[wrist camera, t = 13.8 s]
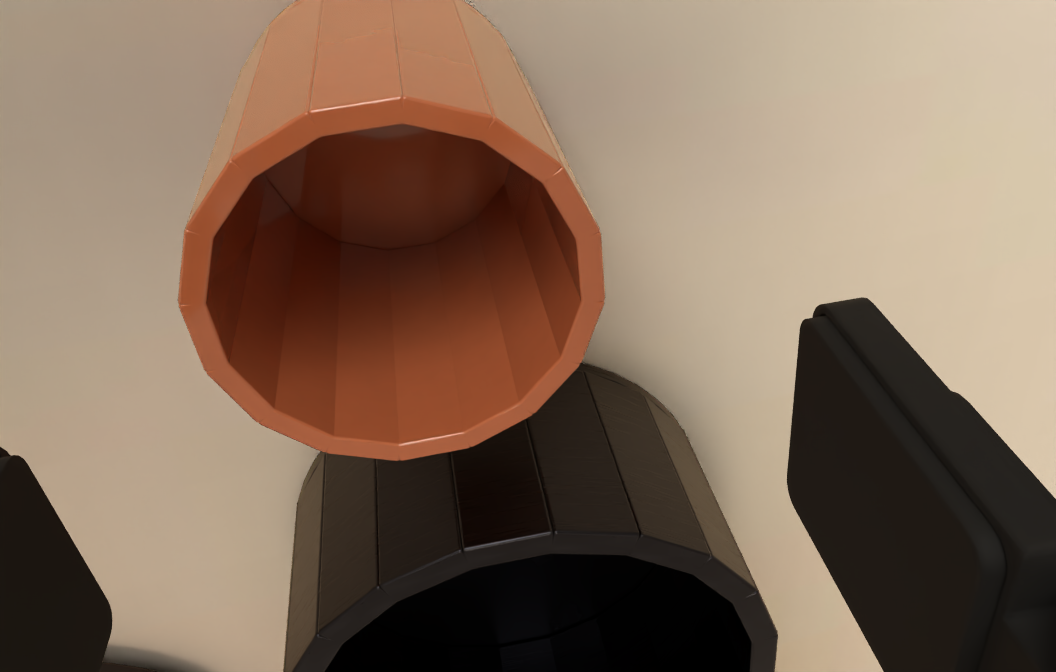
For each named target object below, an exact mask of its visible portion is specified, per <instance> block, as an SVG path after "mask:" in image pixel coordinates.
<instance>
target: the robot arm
mask: <svg viewBox="0 0 1056 672" xmlns="http://www.w3.org/2000/svg"><path fill="white" fill-rule="evenodd" d="M787 485H788V491H789V495H790V498H791V501H792V504H793V506H794V508H795V510H796V512H797V514H798V515H799V517H800V519H801V521H802V523H803V525H804V526H805V528H806V530H807V532H808V534H809V536H810V537H811V539H812V541H813V543H814V545H815V547H816V548H817V550H818V552H819V554H820V556H821V558H822V559H823V561H824V563H825V565H826V567H827V568H828V570H829V572H830V574H831V576H832V578H833V579H834V581H835V583H836V585H837V587H838V589H839V590H840V592H841V594H842V596H843V598H844V600H845V601H846V603H847V605H848V607H849V609H850V611H851V612H852V614H853V616H854V618H855V620H856V622H857V623H858V625H859V627H860V629H861V631H862V633H863V634H864V636H865V638H866V640H867V642H868V644H869V645H870V647H871V649H872V651H873V653H874V655H875V656H876V658H877V660H878V662H879V664H880V665H881V667H882V669H883V671H884V672H1056V499H1055V498H1054V497H1053V496H1052V494H1051V493H1050V492H1049V491H1048V490H1047V489H1046V488H1045V487H1044V486H1043V484H1042V483H1041V482H1040V481H1039V480H1038V479H1037V478H1036V477H1035V475H1034V474H1033V473H1032V472H1031V471H1030V470H1029V469H1028V468H1027V467H1026V465H1025V464H1024V463H1023V462H1022V461H1021V460H1020V459H1019V458H1018V457H1017V455H1016V454H1015V453H1014V452H1013V451H1012V450H1011V449H1010V448H1009V447H1008V445H1007V444H1006V443H1005V442H1004V441H1003V440H1002V439H1001V438H1000V436H999V435H998V434H997V433H996V432H995V431H994V430H993V429H992V428H991V426H990V425H989V424H988V423H987V422H986V421H985V420H984V419H983V418H982V416H981V415H980V414H979V413H978V412H977V411H976V410H975V409H974V408H973V406H972V405H971V404H970V403H969V402H968V401H967V400H966V399H964V398H963V397H962V396H961V395H960V394H958V393H955V392H952V391H950V390H949V389H948V387H947V386H946V385H945V384H944V383H943V382H942V381H941V379H940V378H939V377H938V376H937V375H936V374H935V373H934V372H933V370H932V369H931V368H930V367H929V366H928V365H927V364H926V363H925V361H924V360H923V359H922V358H921V357H920V356H919V355H918V353H917V352H916V351H915V350H914V349H913V348H912V347H911V346H910V344H909V343H908V342H907V341H906V340H905V339H904V338H903V337H902V335H901V334H900V333H899V332H898V331H897V330H896V329H895V328H894V326H893V325H892V324H891V323H890V322H889V321H888V320H887V318H886V317H885V316H884V315H883V314H882V313H881V312H880V311H879V309H878V308H877V307H876V306H875V305H874V304H873V303H872V302H871V301H870V300H869V299H867V298H856V299H851V300H845V301H839V302H833V303H827V304H821V305H819V306H817V307H816V309H815V311H814V313H813V318H809V319H805V320H803V322H802V324H801V327H800V334H799V346H798V357H797V368H796V380H795V391H794V403H793V414H792V425H791V437H790V448H789V460H788V471H787ZM111 629H112V612H111V608H110V604H109V602H108V600H107V598H106V597H105V595H104V593H103V591H102V590H101V588H100V586H99V585H98V583H97V581H96V580H95V578H94V576H93V574H92V573H91V571H90V569H89V568H88V566H87V564H86V563H85V561H84V559H83V557H82V556H81V554H80V552H79V551H78V549H77V547H76V546H75V544H74V542H73V540H72V539H71V537H70V535H69V534H68V532H67V530H66V529H65V527H64V525H63V523H62V522H61V520H60V518H59V517H58V515H57V513H56V512H55V510H54V508H53V507H52V505H51V503H50V501H49V500H48V498H47V496H46V495H45V493H44V491H43V490H42V488H41V486H40V484H39V483H38V481H37V479H36V478H35V476H34V474H33V473H32V471H31V469H30V467H29V466H28V464H27V463H26V461H25V460H24V459H23V458H21V457H20V456H16V455H13V456H10V455H9V454H8V452H7V451H6V450H4V449H3V448H1V447H0V672H99V671H100V668H101V665H102V661H103V658H104V655H105V651H106V648H107V644H108V641H109V638H110V634H111Z"/></svg>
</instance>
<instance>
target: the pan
mask: <svg viewBox="0 0 1056 672" xmlns="http://www.w3.org/2000/svg"><path fill="white" fill-rule="evenodd" d="M777 640H778V634H777V630H776V627H775V625H774V623H773V621H772V619H771V617H770V614H769V612H768V610H767V608H766V606H765V603H764V601H763V599H762V597H761V595H760V593H759V590H758V588H757V586H756V584H755V582H754V580H753V578H752V575H751V573H750V571H749V569H748V567H747V565H746V563H745V560H744V558H743V556H742V554H741V552H740V550H739V548H738V545H737V543H736V541H735V539H734V537H733V535H732V533H731V530H730V528H729V526H728V524H727V522H726V520H725V518H724V515H723V513H722V511H721V509H720V507H719V505H718V503H717V500H716V498H715V496H714V494H713V492H712V490H711V488H710V485H709V483H708V481H707V479H706V477H705V475H704V473H703V470H702V468H701V466H700V464H699V462H698V460H697V458H696V455H695V453H694V451H693V449H692V447H691V445H690V443H689V440H688V438H687V436H686V434H685V432H684V430H683V429H682V428H681V426H680V425H679V424H678V422H677V421H676V420H675V418H674V417H673V415H672V414H671V413H670V412H669V411H668V410H667V409H666V408H665V407H664V406H663V405H662V404H661V403H660V402H659V401H658V400H657V399H656V398H655V397H653V396H652V395H650V394H649V393H647V392H646V391H645V390H643V389H642V388H640V387H639V386H637V385H636V384H634V383H632V382H630V381H628V380H626V379H624V378H622V377H620V376H618V375H616V374H614V373H612V372H609V371H606V370H603V369H600V368H597V367H594V366H591V365H588V364H583V363H580V365H579V367H578V368H577V369H576V370H575V371H574V372H573V373H572V374H571V375H570V376H569V378H568V379H567V380H566V381H565V382H564V383H563V384H562V385H561V386H560V387H559V388H558V389H557V390H556V391H555V393H554V394H553V395H552V396H551V397H550V398H549V399H548V400H547V401H546V402H545V403H544V404H543V405H542V406H541V407H540V409H539V410H538V411H537V412H536V413H534V414H533V415H532V416H530V417H529V418H527V419H525V420H523V421H521V422H519V423H517V424H515V425H513V426H512V427H510V428H508V429H506V430H504V431H502V432H500V433H498V434H496V435H495V436H493V437H491V438H489V439H487V440H485V441H483V442H481V443H479V444H477V445H476V446H474V447H471V446H470V448H468V449H463V450H457V451H452V452H447V453H441V454H436V455H431V456H425V457H420V458H415V459H409V460H404V461H400V460H399V461H391V460H382V459H373V458H363V457H354V456H345V455H336V454H328V453H327V452H320V453H319V455H318V456H317V458H316V459H315V460H314V462H313V464H312V466H311V468H310V470H309V472H308V474H307V476H306V478H305V480H304V483H303V486H302V490H301V493H300V496H299V500H298V502H297V511H296V522H295V534H294V545H293V557H292V569H291V581H290V594H289V606H288V619H287V631H286V644H285V656H284V668H283V672H775V661H776V651H777Z"/></svg>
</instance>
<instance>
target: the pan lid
mask: <svg viewBox="0 0 1056 672" xmlns="http://www.w3.org/2000/svg"><path fill="white" fill-rule="evenodd" d="M99 672H157V671H153V670H149V669H145V668H139V667H133V666H127V665H120V664H114V663H102V665H101V668H100V671H99Z"/></svg>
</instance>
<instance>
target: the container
mask: <svg viewBox="0 0 1056 672" xmlns="http://www.w3.org/2000/svg"><path fill="white" fill-rule="evenodd" d="M604 300H605V286H604V271H603V256H602V240H601V232H600V228H599V226H598V224H597V222H596V220H595V218H594V216H593V214H592V212H591V210H590V208H589V206H588V204H587V202H586V200H585V198H584V195H583V193H582V191H581V189H580V187H579V185H578V183H577V181H576V179H575V177H574V175H573V173H572V171H571V169H570V167H569V165H568V163H567V161H566V158H565V156H564V154H563V152H562V150H561V148H560V146H559V144H558V142H557V140H556V138H555V136H554V134H553V132H552V130H551V128H550V126H549V124H548V121H547V119H546V117H545V115H544V113H543V111H542V109H541V107H540V105H539V103H538V101H537V99H536V97H535V95H534V93H533V91H532V89H531V87H530V84H529V82H528V81H527V79H526V77H525V75H524V73H523V72H522V70H521V68H520V66H519V65H518V63H517V61H516V59H515V57H514V55H513V53H512V51H511V50H510V48H509V47H508V45H507V43H506V41H505V40H504V38H503V36H502V34H500V33H499V31H498V30H497V29H495V28H494V27H493V25H492V24H491V23H490V22H489V21H488V20H487V19H486V18H485V17H484V16H483V15H481V14H480V13H479V12H478V11H477V10H476V9H475V8H473V7H472V6H471V5H469V4H468V3H466V2H465V1H463V0H296V1H295V2H294V3H292V4H291V5H290V6H288V7H287V8H286V9H284V10H283V11H282V12H281V13H280V14H279V15H278V16H277V17H276V18H275V19H274V20H273V21H272V22H271V23H270V24H269V25H268V27H267V28H266V29H265V31H264V32H263V34H262V35H261V36H260V38H259V39H258V40H257V42H256V44H255V46H254V48H253V50H252V52H251V54H250V56H249V57H248V60H247V61H246V63H245V64H244V66H243V68H242V69H241V71H240V74H239V76H238V79H237V82H236V85H235V88H234V91H233V93H232V96H231V99H230V102H229V105H228V108H227V111H226V113H225V116H224V119H223V122H222V125H221V128H220V131H219V133H218V136H217V139H216V142H215V145H214V148H213V150H212V153H211V156H210V159H209V162H208V165H207V168H206V170H205V173H204V176H203V179H202V182H201V185H200V188H199V190H198V193H197V196H196V199H195V202H194V205H193V207H192V210H191V213H190V216H189V219H188V222H187V225H186V227H185V230H184V239H183V250H182V261H181V272H180V283H179V294H178V303H179V308H180V311H181V313H182V316H183V318H184V321H185V323H186V326H187V328H188V331H189V333H190V336H191V338H192V341H193V343H194V345H195V348H196V350H197V353H198V355H199V358H200V360H201V363H202V365H203V368H204V370H205V371H206V372H207V374H208V375H209V376H210V377H211V378H212V379H213V380H214V381H215V382H216V383H217V384H218V385H219V386H220V387H221V388H222V389H223V390H224V391H225V392H226V393H227V394H228V395H229V396H230V397H231V398H232V399H233V400H234V401H235V402H236V403H237V404H239V405H240V406H241V407H242V408H243V409H244V410H245V411H246V412H247V413H248V414H249V415H250V416H251V417H252V418H253V419H254V420H255V421H256V422H259V424H261V425H263V426H265V427H267V428H270V429H272V430H274V431H276V432H279V433H281V434H283V435H285V436H288V437H290V438H292V439H294V440H297V441H299V442H301V443H303V444H306V445H308V446H310V447H312V448H315V449H317V450H319V451H321V452H327V453H328V454H336V455H345V456H354V457H363V458H373V459H382V460H391V461H399V460H400V461H404V460H409V459H415V458H420V457H425V456H431V455H436V454H441V453H447V452H452V451H457V450H463V449H468V448H470V446H471V447H474V446H476V445H477V444H479V443H481V442H483V441H485V440H487V439H489V438H491V437H493V436H495V435H496V434H498V433H500V432H502V431H504V430H506V429H508V428H510V427H512V426H513V425H515V424H517V423H519V422H521V421H523V420H525V419H527V418H529V417H530V416H532V415H533V414H534V413H536V412H537V411H538V410H539V409H540V407H541V406H542V405H543V404H544V403H545V402H546V401H547V400H548V399H549V398H550V397H551V396H552V395H553V394H554V393H555V391H556V390H557V389H558V388H559V387H560V386H561V385H562V384H563V383H564V382H565V381H566V380H567V379H568V378H569V376H570V375H571V374H572V373H573V372H574V371H575V370H576V369H577V368H578V367H579V365H580V363H581V362H582V360H583V357H584V355H585V352H586V349H587V347H588V344H589V342H590V339H591V337H592V334H593V331H594V329H595V326H596V324H597V321H598V318H599V316H600V313H601V311H602V308H603V306H604Z"/></svg>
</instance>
